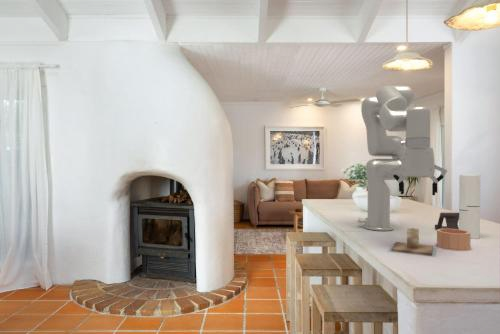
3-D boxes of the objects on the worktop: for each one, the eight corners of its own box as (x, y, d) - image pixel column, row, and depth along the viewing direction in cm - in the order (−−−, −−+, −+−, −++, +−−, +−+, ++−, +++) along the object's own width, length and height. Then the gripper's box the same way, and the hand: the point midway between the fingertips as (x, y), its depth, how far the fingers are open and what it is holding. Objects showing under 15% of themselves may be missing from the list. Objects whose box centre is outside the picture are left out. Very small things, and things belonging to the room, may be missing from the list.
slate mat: (387, 252, 116) (387, 251, 116) (393, 244, 128) (393, 243, 128) (435, 258, 109) (435, 257, 109) (436, 249, 121) (436, 247, 121)
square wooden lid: (391, 251, 116) (391, 230, 116) (395, 243, 127) (396, 225, 127) (432, 255, 111) (432, 234, 111) (433, 247, 121) (433, 228, 121)
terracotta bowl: (436, 249, 121) (436, 232, 121) (437, 243, 129) (437, 227, 129) (470, 253, 116) (471, 235, 116) (469, 247, 124) (469, 230, 124)
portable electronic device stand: (454, 229, 158) (454, 210, 158) (464, 232, 150) (464, 213, 150) (434, 229, 158) (434, 210, 158) (443, 232, 151) (444, 213, 150)
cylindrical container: (480, 239, 137) (480, 175, 137) (458, 237, 141) (459, 175, 141) (479, 236, 143) (480, 174, 143) (459, 234, 147) (459, 174, 147)
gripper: (389, 144, 120) (388, 194, 120) (446, 142, 112) (446, 196, 112) (392, 145, 127) (392, 192, 127) (447, 143, 118) (447, 194, 118)
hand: (417, 194), depth 119 cm, fingers open, 9 cm apart
